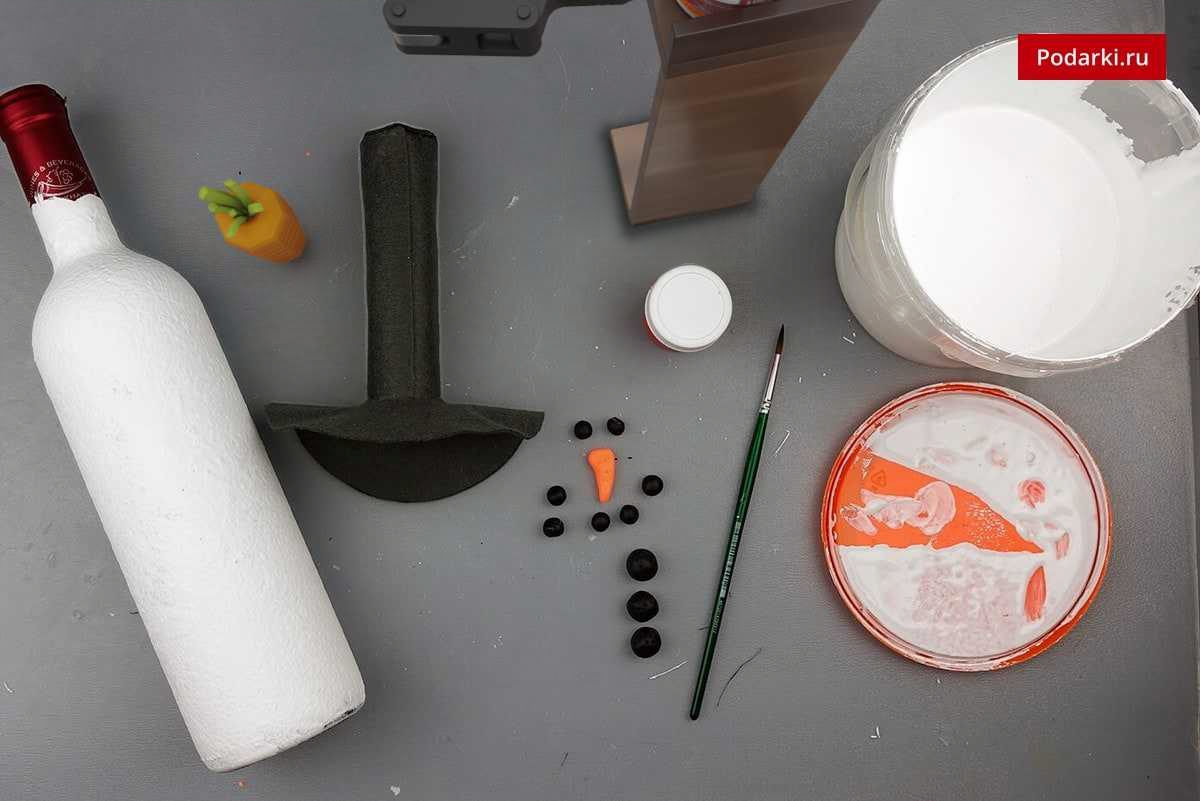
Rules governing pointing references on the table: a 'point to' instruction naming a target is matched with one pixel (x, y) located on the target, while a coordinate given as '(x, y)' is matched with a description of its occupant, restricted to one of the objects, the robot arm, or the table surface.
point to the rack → (751, 31)
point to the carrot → (256, 220)
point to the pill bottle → (715, 5)
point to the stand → (717, 133)
